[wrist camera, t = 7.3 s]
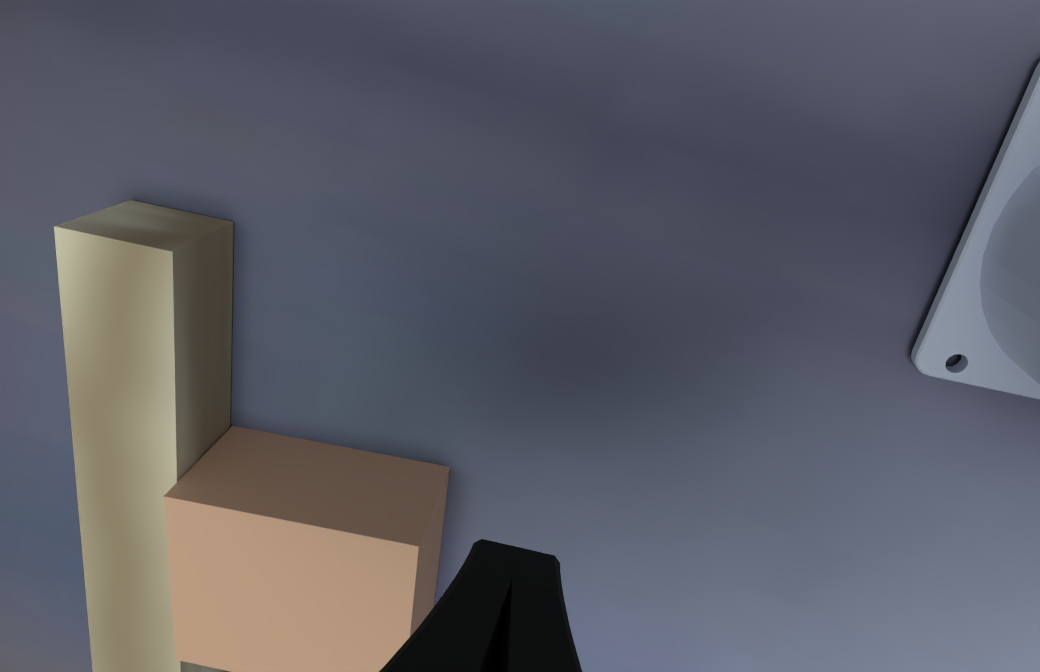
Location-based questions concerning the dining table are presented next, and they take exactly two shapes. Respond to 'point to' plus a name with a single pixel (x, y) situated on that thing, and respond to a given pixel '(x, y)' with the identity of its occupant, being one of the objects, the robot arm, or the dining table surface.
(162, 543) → the birch board
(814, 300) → the dining table surface
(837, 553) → the dining table surface
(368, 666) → the tan rectangular block
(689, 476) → the dining table surface
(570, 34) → the dining table surface
